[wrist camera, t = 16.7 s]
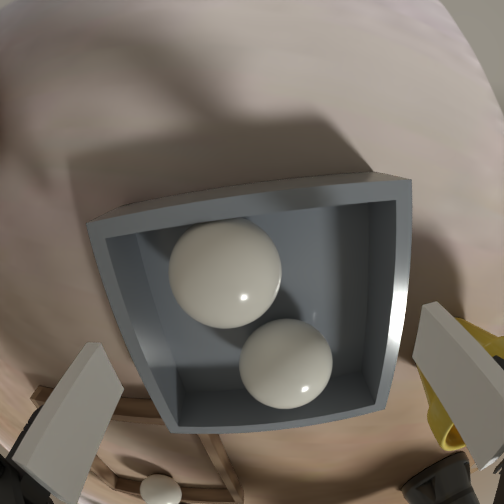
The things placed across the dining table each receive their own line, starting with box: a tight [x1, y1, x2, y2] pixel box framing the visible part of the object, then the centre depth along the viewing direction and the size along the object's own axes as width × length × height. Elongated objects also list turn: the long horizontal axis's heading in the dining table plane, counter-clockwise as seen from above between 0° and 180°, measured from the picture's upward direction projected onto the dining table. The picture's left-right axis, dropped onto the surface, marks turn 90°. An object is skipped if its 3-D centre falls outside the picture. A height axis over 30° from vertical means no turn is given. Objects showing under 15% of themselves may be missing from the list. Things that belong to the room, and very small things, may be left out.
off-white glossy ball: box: [239, 318, 333, 409], centre depth 17 cm, size 6×6×6 cm
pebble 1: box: [140, 474, 182, 504], centre depth 28 cm, size 6×6×6 cm
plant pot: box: [416, 318, 504, 451], centre depth 18 cm, size 10×10×10 cm
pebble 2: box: [168, 217, 282, 329], centre depth 15 cm, size 6×6×6 cm
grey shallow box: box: [86, 172, 412, 434], centre depth 18 cm, size 17×17×5 cm
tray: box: [30, 386, 244, 504], centre depth 27 cm, size 24×22×2 cm
